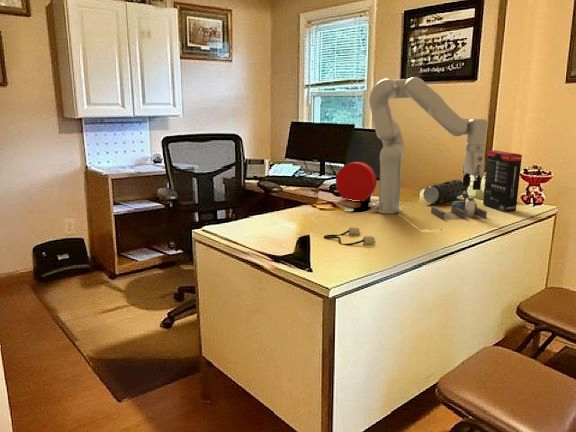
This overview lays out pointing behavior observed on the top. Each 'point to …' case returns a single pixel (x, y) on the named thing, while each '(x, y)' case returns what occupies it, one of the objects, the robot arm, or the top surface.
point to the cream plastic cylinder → (470, 207)
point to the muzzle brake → (443, 191)
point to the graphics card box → (502, 180)
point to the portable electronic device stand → (465, 195)
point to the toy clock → (356, 181)
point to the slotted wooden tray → (458, 212)
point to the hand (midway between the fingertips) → (471, 187)
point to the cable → (353, 231)
